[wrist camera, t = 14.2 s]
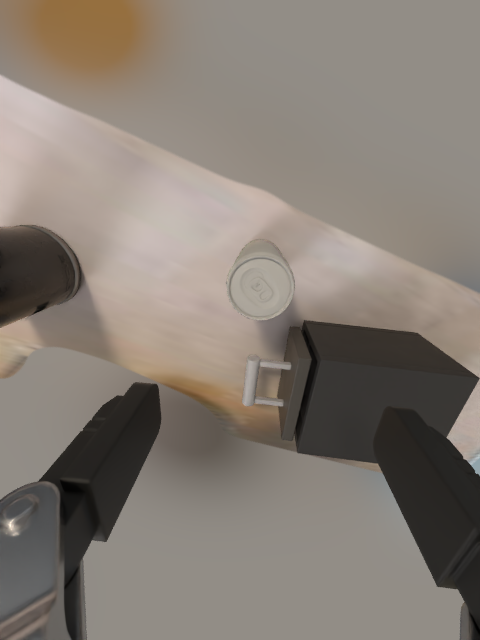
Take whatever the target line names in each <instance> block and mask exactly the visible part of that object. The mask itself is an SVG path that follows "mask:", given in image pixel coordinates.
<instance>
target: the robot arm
mask: <svg viewBox="0 0 480 640" xmlns="http://www.w3.org/2000/svg"><path fill="white" fill-rule="evenodd" d="M79 284H80V269H79V265H78V262H77V260H76V258H75V256H74V254H73V252H72V251H71V249H70V248H69V247H68V245H67V244H66V243H65V242H64V241H63V240H62V239H61V238H60V237H58V236H57V235H56V234H54V233H53V232H51V231H49V230H47V229H45V228H42V227H39V226H34V225H20V226H14V227H0V328H1V327H4V326H6V325H8V324H11V323H13V322H16V321H18V320H20V319H23V318H25V317H27V318H28V316H30V315H32V314H35V313H37V312H40V311H42V310H45V309H47V308H49V307H52V306H54V305H58V304H61V303H63V302H66V301H68V300H69V299H71V298H72V297H73V296H74V295H75V294H76V292H77V290H78V288H79ZM20 321H21V320H20ZM160 424H161V411H160V399H159V389H158V386H157V384H150V383H139V382H135V383H134V384H133V385H132V386H131V387H130V388H129V390H128V391H127V392H126V393H125V395H124V396H116V397H114V398H113V399H111V400H110V401H109V402H107V403H106V404H104V405H103V406H102V407H101V408H100V409H99V410H98V412H97V413H96V414H95V416H94V417H93V418H92V420H90V421H89V422H88V423H87V425H86V426H85V427H84V428H83V431H81V432H80V433H79V434H78V435H77V436H76V438H75V439H74V440H73V441H72V442H71V444H70V445H69V446H68V447H67V448H66V450H65V451H64V452H63V453H62V454H61V455H60V457H59V458H58V459H57V460H56V461H55V462H54V464H53V465H52V466H51V467H50V468H49V470H48V471H47V472H46V473H45V474H44V475H43V477H42V478H41V479H40V480H39V481H38V482H34V483H30V484H27V485H24V486H22V487H20V488H17V489H16V490H14V491H13V492H11V493H9V494H7V495H6V496H5V497H3V498H2V499H1V500H0V640H87V630H86V609H85V588H84V587H85V586H84V565H83V556H84V554H85V552H86V550H87V549H88V547H89V544H90V543H91V541H92V540H95V541H103V542H106V541H107V540H108V537H109V535H110V533H111V531H112V529H113V527H114V525H115V523H116V520H117V519H118V517H119V514H120V512H121V510H122V508H123V506H124V504H125V502H126V500H127V498H128V496H129V494H130V491H131V489H132V487H133V485H134V483H135V481H136V479H137V477H138V475H139V473H140V470H141V468H142V466H143V464H144V462H145V460H146V458H147V456H148V454H149V452H150V449H151V447H152V445H153V443H154V441H155V439H156V437H157V435H158V432H159V429H160ZM373 450H374V454H375V458H376V460H377V462H378V464H379V466H380V468H381V470H382V472H383V474H384V476H385V479H386V481H387V483H388V485H389V487H390V489H391V491H392V493H393V495H394V497H395V499H396V501H397V503H398V506H399V508H400V510H401V512H402V514H403V516H404V518H405V520H406V522H407V524H408V526H409V528H410V531H411V533H412V535H413V537H414V539H415V541H416V543H417V545H418V547H419V549H420V551H421V553H422V556H423V557H424V560H425V562H426V564H427V566H428V568H429V570H430V572H431V574H432V576H433V578H434V580H435V583H436V585H437V586H438V587H445V588H452V589H458V590H459V592H460V594H461V596H462V598H463V600H464V601H465V602H464V603H463V605H462V607H461V617H460V640H480V476H479V475H478V474H476V473H475V470H474V469H473V467H472V466H471V465H470V464H469V463H468V462H467V460H464V459H463V456H462V455H461V453H460V452H459V451H458V450H457V449H456V448H455V446H454V445H453V444H452V443H451V442H450V440H448V439H447V438H446V437H444V436H443V435H442V434H441V433H439V432H438V431H437V430H435V429H434V428H433V427H432V426H428V425H427V424H426V423H425V422H424V420H423V419H422V418H421V417H420V415H419V414H418V413H417V412H416V411H415V410H414V409H411V408H401V407H391V406H388V407H386V408H385V409H384V411H383V414H382V417H381V419H380V422H379V425H378V428H377V431H376V433H375V436H374V440H373Z"/></svg>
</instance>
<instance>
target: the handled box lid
mask: <svg viewBox="0 0 480 640" xmlns="http://www.w3.org/2000/svg"><path fill="white" fill-rule="evenodd" d="M259 365H260V366H262V367H270V368H278V369H282V373H281V378H280V384H279V389H278V394H277V397H278V399H276V398H268V397H260V396H255V393H256V386H257V379H258V372H259ZM316 366H317V360H316V357H315V355H314V352H313V350H312V347H311V345H310V342H309V344H308V348H307V346H306V343H305V340H304V337H303V335H302V332H301V329H300V327H291V326H290V330H289V335H288V340H287V346H286V351H285V357H284V362H282V361H274V360H265V359H260V357H259V356H257V355H249V356H248V357H247V365H246V373H245V382H244V390H243V399H242V403H243V404H244V405H246V406H252V405H253V404H254V403H258V404H266V405H274V406H278V408H279V418H280V428H281V438H282V440H288V441H292V440H293V436H294V432H295V428H296V424H297V419H298V415H299V411H300V412H301V417H302V422H303V419H304V415H305V411H306V407H307V402H308V398H309V394H310V390H311V386H312V382H313V378H314V374H315V370H316Z"/></svg>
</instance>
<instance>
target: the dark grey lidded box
mask: <svg viewBox="0 0 480 640" xmlns="http://www.w3.org/2000/svg"><path fill="white" fill-rule="evenodd" d="M302 335H303V337H304V340H305V343H306V346H307V348H308V344H309V342H310V345H311V347H312V350H313V352H314V355H315V357H316V360H317V366H316V370H315V374H314V378H313V382H312V386H311V390H310V394H309V398H308V402H307V407H306V411H305V415H304V419H303V422H302V417H301V412H300V411H299V415H298V419H297V424H296V428H295V432H294V434H295V441H296V446H297V453H301V454H309V455H317V456H324V457H332V458H340V459H347V460H355V461H363V462H370V463H378V462H377V460H376V458H375V454H374V450H373V440H374V436H375V433H376V431H377V428H378V425H379V422H380V419H381V417H382V414H383V411H384V409H385V408H386V407H388V406H391V407H401V408H411V409H414V410H415V411H416V412H417V413H418V414H419V415H420V417H421V418H422V419H423V420H424V422H425V423H426V424H427V425H428V426H432V427H433V428H434V429H435V430H437V431H438V432H439V433H441V434H442V435H443V436H444V437H447V435H448V434H449V432H450V430H451V428H452V426H453V425H454V423H455V421H456V419H457V418H458V416H459V414H460V412H461V411H462V409H463V407H464V405H465V404H466V402H467V400H468V398H469V396H470V395H471V393H472V391H473V389H474V388H475V386H476V384H477V382H478V381H479V379H480V378H479V377H477V376H476V375H475V374H473V373H472V372H470V371H469V370H467V369H466V368H465V367H463V366H462V365H461V364H459V363H458V362H456V361H455V360H454V359H452V358H451V357H449V356H448V355H447V354H445V353H444V352H443V351H441V350H440V349H438V348H437V347H436V346H434V345H433V344H432V343H430V342H429V341H427V340H426V339H425V338H423V337H422V336H421V335H419V334H418V333H413V332H404V331H395V330H386V329H377V328H368V327H359V326H350V325H341V324H332V323H323V322H314V321H305V320H304V323H303V328H302Z"/></svg>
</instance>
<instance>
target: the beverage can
mask: <svg viewBox="0 0 480 640" xmlns="http://www.w3.org/2000/svg"><path fill="white" fill-rule="evenodd" d="M226 284H227V294H228V297H229V300H230V303H231V304H232V306H233V307H234V309H235V310H236V311H237V312H239V313H240V314H241V315H243V316H245V317H247V318H249V319H253V320H268V319H271V318H274V317H276V316H278V315H280V314H281V313H282V312H283V311H284V310H285V309H286V308H287V307H288V305H289V304H290V302H291V300H292V297H293V294H294V288H295V281H294V276H293V272H292V270H291V269H290V267H289V265H288V263H287V262H286V260H285V259H284V257H283V256H282V254H281V252H280V251H279V249H278V248H277V247H276V246H275V245H274V244H273V243H271V242H269V241H267V240H255V241H252V242H250V243H248V244H247V245H246V246H245V247H244V248H243V249H242V251H241V252H240V254H239V256H238V257H237V259H236V261H235V263H234V264H233V266H232V268H231V270H230V272H229V274H228V278H227V283H226Z"/></svg>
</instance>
